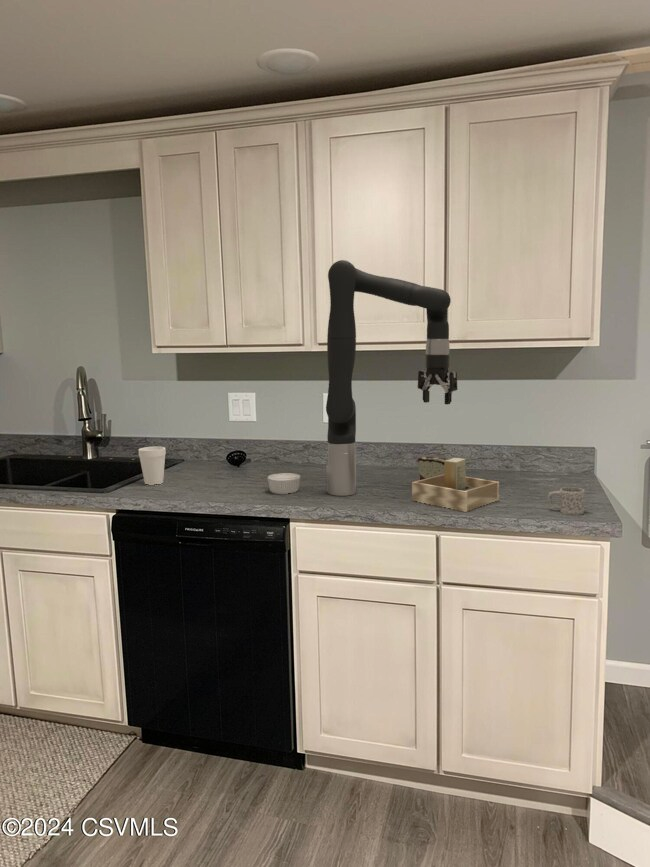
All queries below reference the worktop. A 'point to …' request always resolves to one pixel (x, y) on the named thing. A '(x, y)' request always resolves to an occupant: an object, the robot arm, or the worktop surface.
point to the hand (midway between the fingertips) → (436, 403)
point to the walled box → (455, 493)
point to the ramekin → (284, 483)
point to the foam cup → (152, 464)
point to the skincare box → (455, 473)
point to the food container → (430, 466)
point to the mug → (569, 500)
